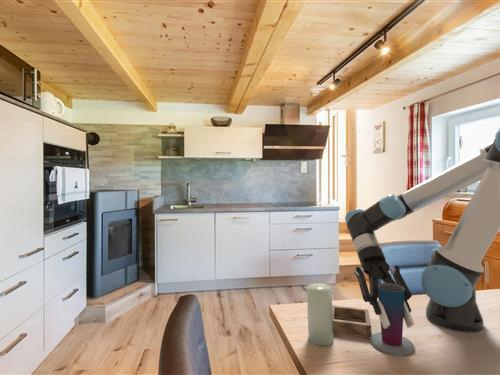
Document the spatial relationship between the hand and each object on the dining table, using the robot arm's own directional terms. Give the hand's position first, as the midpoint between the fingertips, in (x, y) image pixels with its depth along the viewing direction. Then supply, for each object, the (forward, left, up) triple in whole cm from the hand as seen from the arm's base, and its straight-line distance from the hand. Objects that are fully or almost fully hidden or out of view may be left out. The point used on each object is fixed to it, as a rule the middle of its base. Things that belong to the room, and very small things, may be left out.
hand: (399, 326), depth 76 cm
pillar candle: (+20, 0, -7) cm, 22 cm away
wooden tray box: (+12, -11, -7) cm, 18 cm away
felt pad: (+1, -3, -7) cm, 8 cm away
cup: (+1, -3, -6) cm, 7 cm away
